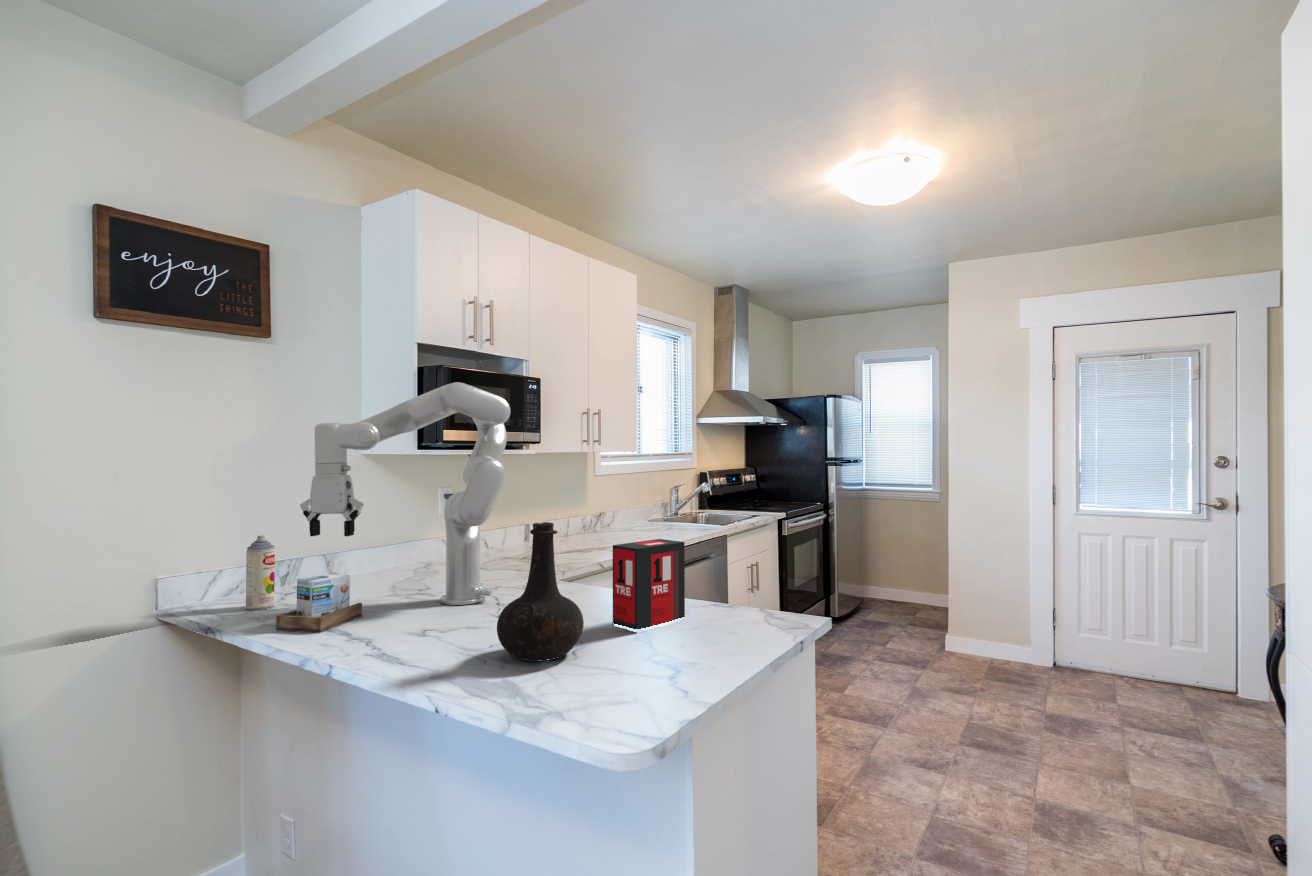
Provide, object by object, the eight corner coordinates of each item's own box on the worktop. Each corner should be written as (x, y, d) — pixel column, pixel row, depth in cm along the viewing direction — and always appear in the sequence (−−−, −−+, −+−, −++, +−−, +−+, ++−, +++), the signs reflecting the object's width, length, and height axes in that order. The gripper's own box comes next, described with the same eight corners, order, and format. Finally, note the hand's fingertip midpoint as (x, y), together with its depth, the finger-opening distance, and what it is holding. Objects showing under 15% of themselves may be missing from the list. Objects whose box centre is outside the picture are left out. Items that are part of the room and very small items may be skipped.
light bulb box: (311, 625, 158) (311, 581, 158) (294, 622, 161) (295, 578, 162) (350, 615, 167) (351, 574, 167) (334, 612, 171) (335, 571, 171)
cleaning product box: (637, 633, 153) (637, 548, 154) (612, 626, 160) (612, 545, 160) (684, 620, 165) (684, 542, 165) (660, 614, 171) (659, 538, 172)
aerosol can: (265, 610, 177) (266, 537, 177) (240, 610, 176) (241, 537, 177) (279, 604, 184) (280, 534, 184) (254, 604, 183) (255, 534, 184)
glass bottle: (479, 663, 132) (480, 525, 132) (527, 639, 148) (527, 517, 149) (556, 673, 125) (556, 528, 126) (597, 647, 142) (597, 520, 143)
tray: (362, 616, 170) (362, 602, 170) (320, 632, 155) (320, 617, 155) (321, 614, 172) (321, 601, 172) (276, 630, 157) (276, 615, 157)
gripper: (370, 469, 172) (371, 533, 171) (310, 470, 174) (311, 533, 174) (353, 470, 164) (353, 537, 164) (291, 471, 167) (291, 537, 166)
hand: (332, 535), depth 169 cm, fingers open, 9 cm apart
